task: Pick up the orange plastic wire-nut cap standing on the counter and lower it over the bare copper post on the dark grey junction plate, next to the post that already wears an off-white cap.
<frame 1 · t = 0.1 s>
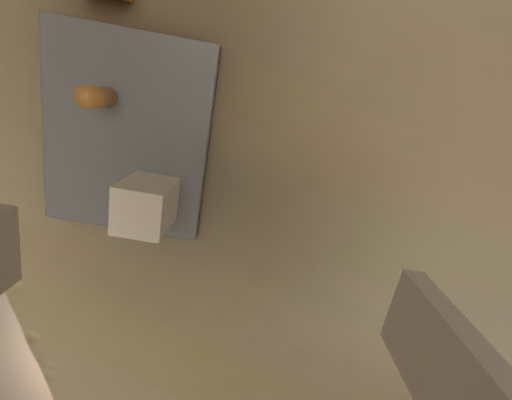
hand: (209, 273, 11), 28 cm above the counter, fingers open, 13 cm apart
junction plate: (130, 135, 37), on the counter
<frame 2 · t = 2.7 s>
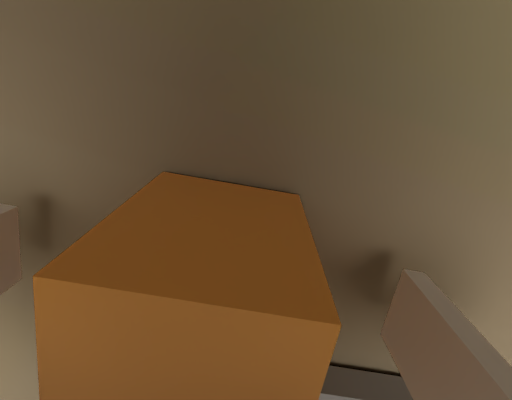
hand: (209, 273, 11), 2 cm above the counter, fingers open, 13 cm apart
orange cap: (222, 244, 13), on the counter
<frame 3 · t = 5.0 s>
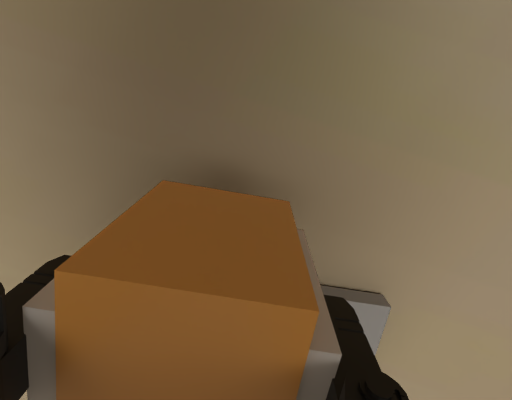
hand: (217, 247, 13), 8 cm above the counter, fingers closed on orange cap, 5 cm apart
orange cap: (218, 248, 14), point 8 cm above the counter, touching gripper
junction plate: (234, 398, 26), on the counter
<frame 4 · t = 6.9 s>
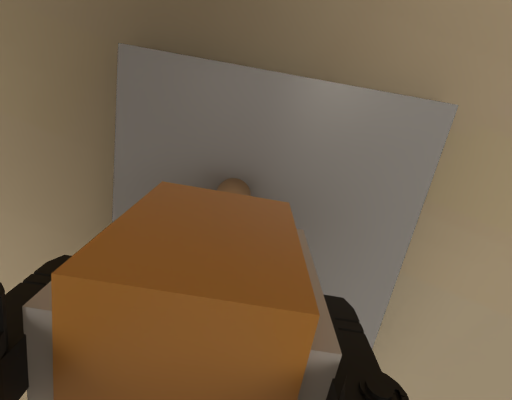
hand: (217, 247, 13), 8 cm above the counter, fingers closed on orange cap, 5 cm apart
orange cap: (217, 249, 13), point 8 cm above the counter, touching gripper
junction plate: (256, 249, 22), on the counter
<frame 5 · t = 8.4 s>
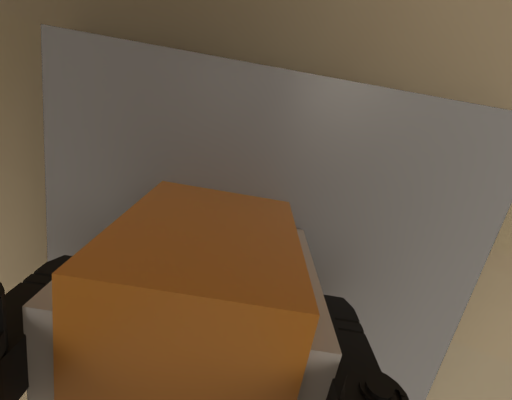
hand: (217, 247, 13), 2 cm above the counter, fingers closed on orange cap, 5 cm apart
orange cap: (217, 248, 13), point 2 cm above the counter, touching gripper, junction plate
junction plate: (251, 309, 16), on the counter
when the fingers open (2 cm above the counter, at t = 8.8 s): orange cap stays where it is, resting on junction plate.
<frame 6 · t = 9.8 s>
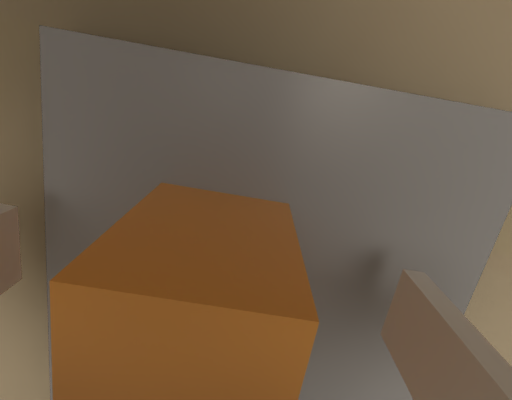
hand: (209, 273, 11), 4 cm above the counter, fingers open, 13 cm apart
orange cap: (217, 250, 13), point 1 cm above the counter, touching junction plate
junction plate: (251, 311, 16), on the counter
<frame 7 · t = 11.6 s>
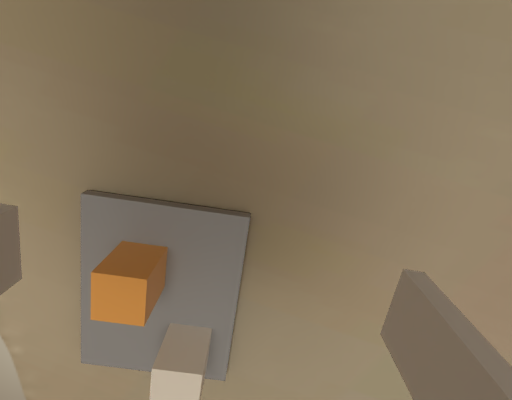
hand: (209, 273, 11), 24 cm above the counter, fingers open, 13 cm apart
orange cap: (143, 264, 37), point 1 cm above the counter, touching junction plate
junction plate: (163, 288, 39), on the counter
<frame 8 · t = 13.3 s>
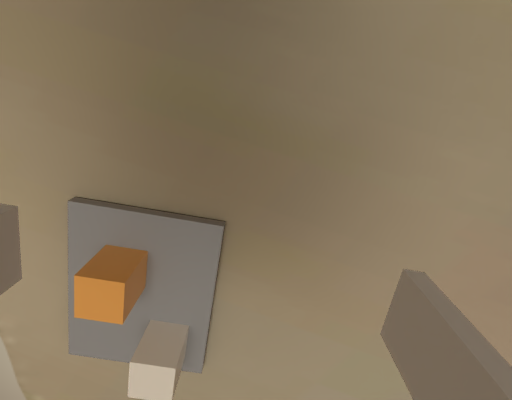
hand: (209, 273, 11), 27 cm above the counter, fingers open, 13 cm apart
orange cap: (126, 266, 40), point 1 cm above the counter, touching junction plate
junction plate: (144, 288, 42), on the counter
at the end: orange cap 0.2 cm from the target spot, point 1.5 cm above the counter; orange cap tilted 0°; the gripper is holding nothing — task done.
